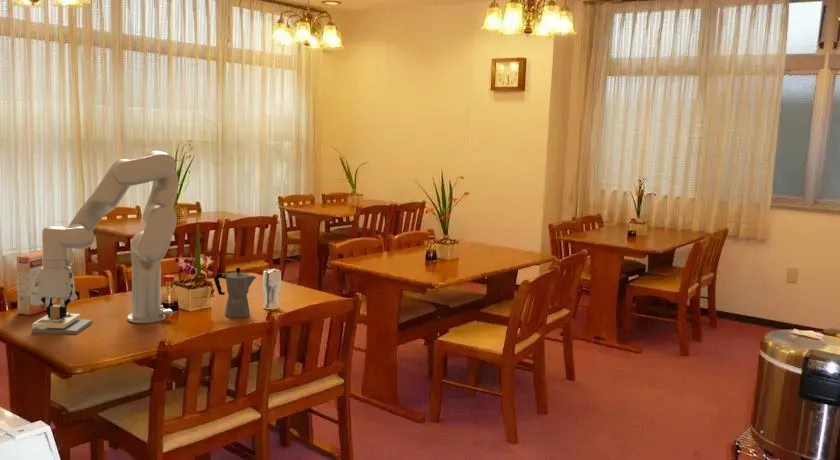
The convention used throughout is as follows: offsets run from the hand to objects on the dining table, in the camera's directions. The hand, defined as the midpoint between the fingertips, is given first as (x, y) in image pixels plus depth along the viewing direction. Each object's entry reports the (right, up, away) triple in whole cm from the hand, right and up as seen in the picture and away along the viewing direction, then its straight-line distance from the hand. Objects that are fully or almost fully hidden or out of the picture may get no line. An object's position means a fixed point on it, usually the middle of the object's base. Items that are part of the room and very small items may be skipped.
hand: (56, 317), depth 237 cm
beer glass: (+63, -2, +40) cm, 75 cm away
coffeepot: (+52, -3, +28) cm, 59 cm away
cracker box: (-16, 0, +19) cm, 25 cm away
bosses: (+1, -3, 0) cm, 3 cm away
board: (+2, -4, +1) cm, 4 cm away
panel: (0, -2, 0) cm, 2 cm away
